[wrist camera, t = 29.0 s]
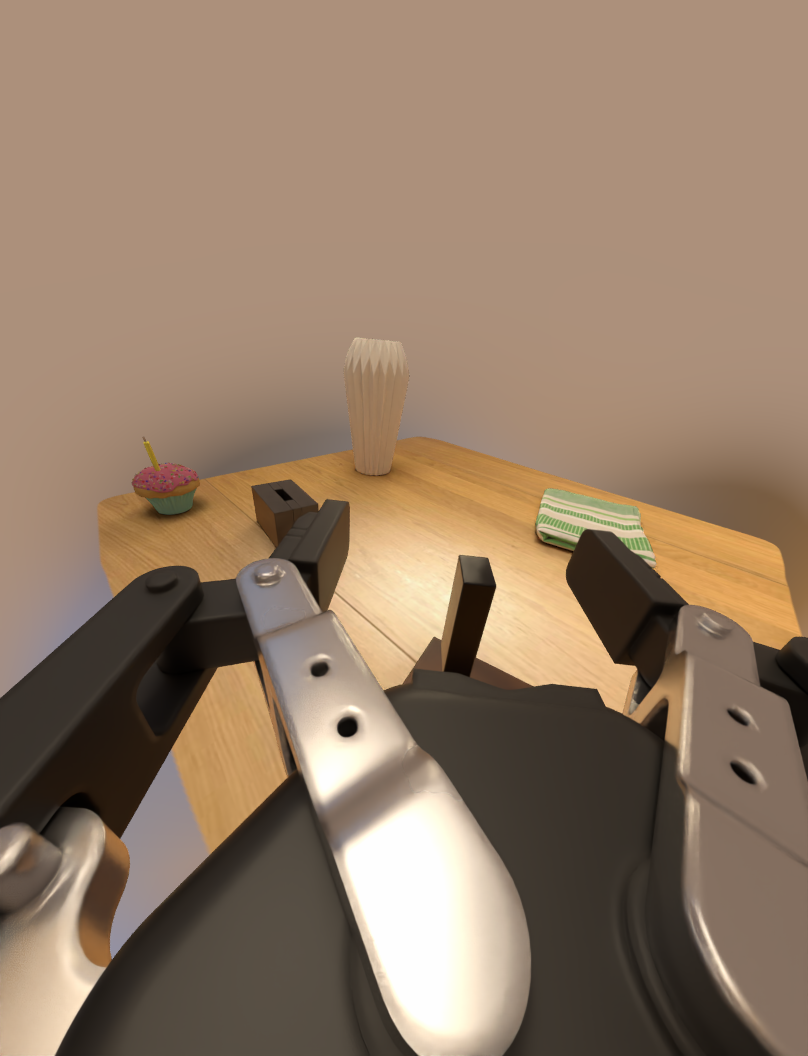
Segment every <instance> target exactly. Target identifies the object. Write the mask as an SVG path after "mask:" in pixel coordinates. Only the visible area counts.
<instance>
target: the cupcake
mask: <svg viewBox="0 0 808 1056" xmlns="http://www.w3.org/2000/svg"><path fill="white" fill-rule="evenodd" d="M143 439H144V441H145V442H144V445H145V448H146V450H147V452H148V455H149V457H150V459H151V462H152V464H153V466H151V467H148V468H145V469H144V470H142V471H140V472H139V473H138V474H136V475H135V477H134V479H133V481H132V485H133V486H134V490H135V492H136V494H137V495H139V496H141V497H145V498H146V499H147V500H148V501H149V502H150V503H151V504H152V505H153V506H154V508H155V509H156V510H157V512H158V513H160V514H165V515H173V514H179V513H183V512H186V511H188V510H189V509H191V508H192V505H193V496H194V493H195V491H196V488H197V487H198V486H199V485H200V482H199V478H198V476H197V474H196V472H195V471H193V470H192V469H191V468H186V467H184V466H181V465H177V464H169V463H165V464H158V462H157V460H156V458H155V455H154V453H153V451H152V448H151V446H150V443H149V442H148V441H146V440H145V438H144V437H143Z"/></svg>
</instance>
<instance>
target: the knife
mask: <svg viewBox="0 0 808 1056" xmlns="http://www.w3.org/2000/svg"><path fill="white" fill-rule="evenodd" d="M495 589H496V583H495V580H494V576H493V573H492V570H491V566H490V563H489V559H488V558H485V557H475V556H465V555H459V558H458V563H457V568H456V572H455V577H454V582H453V587H452V592H451V597H450V602H449V607H448V612H447V616H446V621H445V626H444V631H443V636H442V641H441V654H442V672H451V673H459V674H462V675H464V676H467V677H470V675H471V672H472V668H473V665H474V661H475V658H476V655H477V651H478V648H479V644H480V641H481V637H482V634H483V631H484V627H485V624H486V620H487V617H488V613H489V610H490V607H491V603H492V600H493V596H494V593H495Z"/></svg>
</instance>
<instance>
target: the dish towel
mask: <svg viewBox="0 0 808 1056" xmlns="http://www.w3.org/2000/svg"><path fill="white" fill-rule="evenodd" d="M640 518H641V514H640V513H639V509H638V508H637V507H636V506H630V505H621V504H616V503H611V502H607V501H604V500H600V499H596V498H592V497H588V496H584V495H579V494H575V493H571V492H568V491H564V490H558V489H551V488H550V489H546V490H545V491H544V495H543V498H542V501H541V504H540V510H539V512H538V516H537V519H536V523H535V525H536V533H537V535H538V536H539V538H540V539H541V540H542V541H543V542H546V543H549V544H552V545H555V546H558V547H562V548H565V549H568V550H571V551H574V549H575V547H576V545H577V543H578V540H579V538H580V536H581V534H582V532H583V531H584V530H586V529H593V530H602V531H611V532H613V533H614V534H615V535H616V536H617V537H618V538H619V539H620V540H621V541H622V542H623V543H624V544H625V545H626V546H627V547H628V548H629V549H630V550H631V551H632V552H634V553H635V554H637V555H639V556H640V557H642V558H643V559H644V560H645V561H646V562H647V563H648V564H649V565H650V566H651V567H652V568H655V566H656V561H655V555H654V552H653V550H652V548H651V545H650V543H649V541H648V539H647V538H646V536H645V534H644V533H643V528H642V527H641V524H640Z"/></svg>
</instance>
